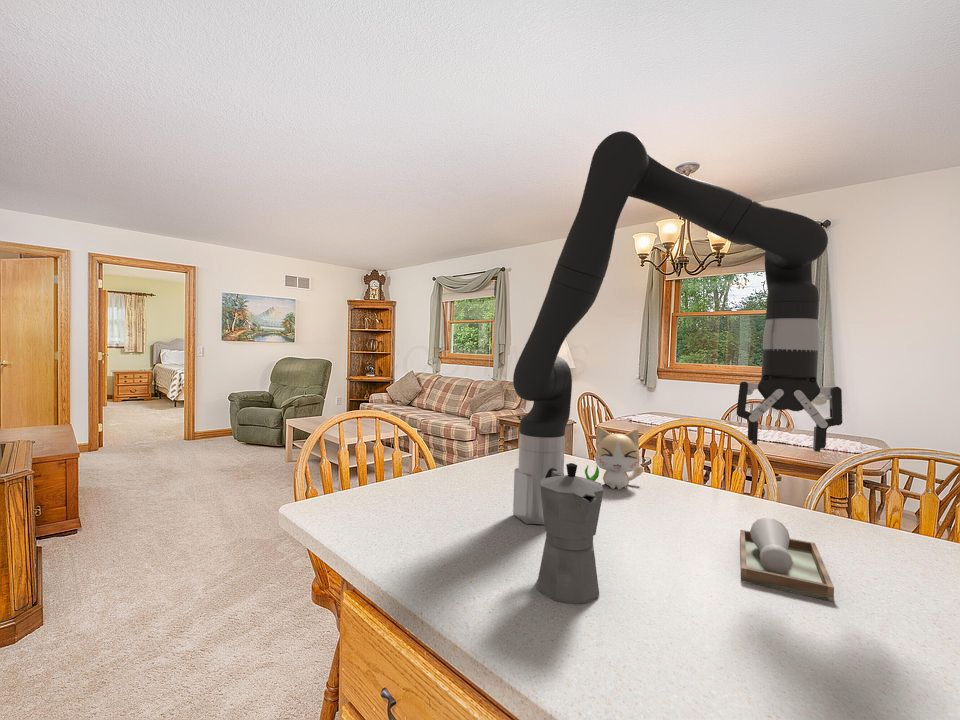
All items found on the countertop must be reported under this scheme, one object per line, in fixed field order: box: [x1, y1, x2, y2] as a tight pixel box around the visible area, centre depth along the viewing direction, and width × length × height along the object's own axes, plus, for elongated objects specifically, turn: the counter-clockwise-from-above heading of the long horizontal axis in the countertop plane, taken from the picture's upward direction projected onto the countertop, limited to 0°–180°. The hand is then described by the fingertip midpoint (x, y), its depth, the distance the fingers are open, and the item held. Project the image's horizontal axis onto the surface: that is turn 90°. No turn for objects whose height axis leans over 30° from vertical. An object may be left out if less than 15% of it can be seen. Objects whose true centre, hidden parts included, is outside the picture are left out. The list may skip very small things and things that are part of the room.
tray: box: [739, 529, 835, 603], centre depth 77 cm, size 18×11×2 cm, turn 151°
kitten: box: [584, 426, 644, 491], centre depth 122 cm, size 15×10×15 cm, turn 76°
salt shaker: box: [749, 517, 793, 574], centre depth 78 cm, size 6×6×13 cm
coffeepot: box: [536, 462, 604, 605], centre depth 69 cm, size 15×9×18 cm, turn 13°
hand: (784, 447), depth 77 cm, fingers open, 8 cm apart
